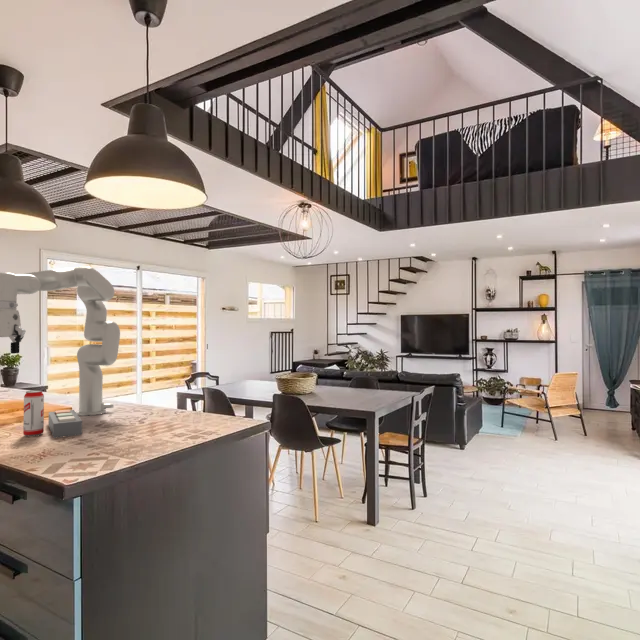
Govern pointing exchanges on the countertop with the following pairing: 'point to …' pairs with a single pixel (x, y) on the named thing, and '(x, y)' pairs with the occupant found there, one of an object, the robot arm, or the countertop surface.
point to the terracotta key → (62, 411)
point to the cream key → (66, 418)
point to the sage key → (64, 415)
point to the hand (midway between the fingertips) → (3, 353)
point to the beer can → (33, 413)
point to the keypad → (65, 425)
